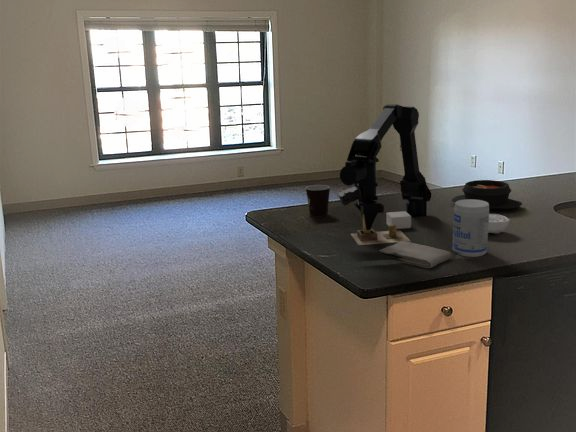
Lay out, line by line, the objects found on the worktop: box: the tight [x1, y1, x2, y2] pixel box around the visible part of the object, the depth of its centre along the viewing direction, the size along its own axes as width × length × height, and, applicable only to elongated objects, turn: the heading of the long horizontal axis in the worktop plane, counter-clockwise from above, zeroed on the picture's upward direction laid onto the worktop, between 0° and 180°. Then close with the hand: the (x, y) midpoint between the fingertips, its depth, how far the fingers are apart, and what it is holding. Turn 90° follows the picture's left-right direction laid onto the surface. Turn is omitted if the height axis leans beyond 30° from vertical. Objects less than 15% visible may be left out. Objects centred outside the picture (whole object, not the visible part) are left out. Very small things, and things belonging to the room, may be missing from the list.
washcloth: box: [379, 241, 453, 269], centre depth 181 cm, size 12×18×3 cm, turn 46°
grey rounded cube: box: [385, 210, 412, 230], centre depth 207 cm, size 6×6×5 cm
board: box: [350, 225, 411, 246], centre depth 196 cm, size 16×12×5 cm
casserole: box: [451, 179, 523, 211], centre depth 230 cm, size 25×19×8 cm
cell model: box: [488, 213, 511, 235], centre depth 199 cm, size 10×12×7 cm
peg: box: [362, 215, 372, 234], centre depth 195 cm, size 2×2×7 cm
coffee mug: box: [305, 184, 330, 218], centre depth 231 cm, size 12×9×10 cm
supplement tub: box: [451, 199, 490, 258], centre depth 180 cm, size 10×10×15 cm
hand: (367, 228), depth 195 cm, fingers closed on peg, 2 cm apart
